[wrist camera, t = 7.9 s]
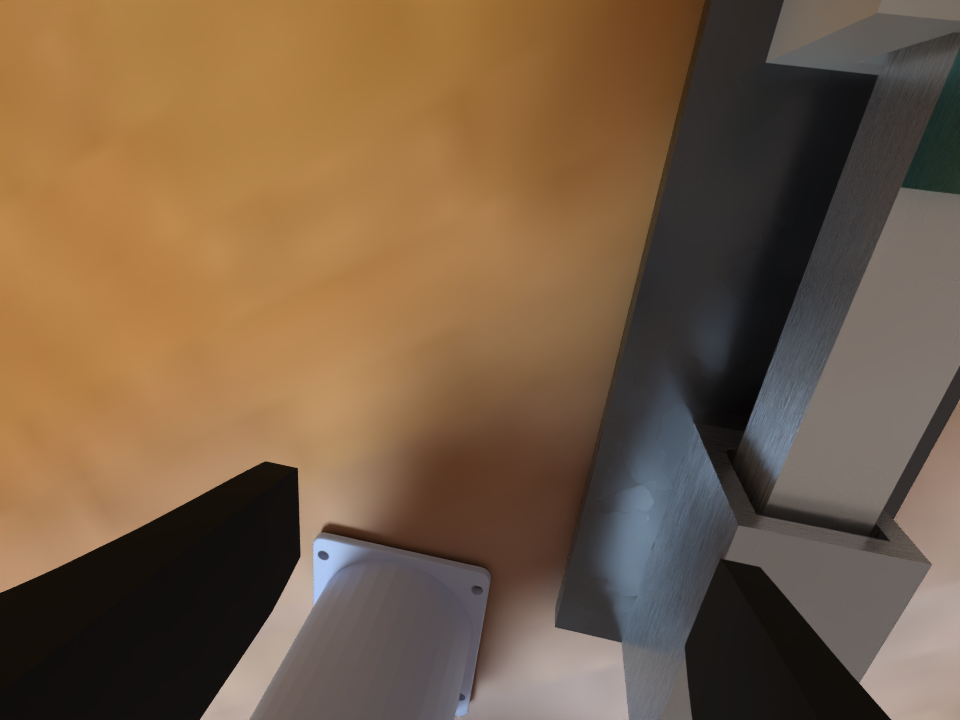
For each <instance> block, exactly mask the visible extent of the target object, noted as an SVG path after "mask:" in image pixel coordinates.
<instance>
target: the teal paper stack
mask: <svg viewBox="0 0 960 720" xmlns="http://www.w3.org/2000/svg"><path fill="white" fill-rule="evenodd" d="M959 366H960V33H957V32H953V33H950V34H947V35H943V36H940V37H937V38H934V39H930V40H927V41H924V42H920V43H917V44H914V45H911V46H907V47H904V48H901V49H898V50H894V51H891V52H888V53H887V54H886V57H885V60H884V62H883V65H882V68H881V70H880V73H879V76H878V78H877V81H876V84H875V86H874V89H873V92H872V94H871V97H870V100H869V102H868V105H867V108H866V110H865V113H864V116H863V118H862V121H861V124H860V126H859V129H858V132H857V134H856V137H855V140H854V142H853V145H852V147H851V150H850V153H849V155H848V158H847V161H846V163H845V166H844V169H843V171H842V174H841V177H840V179H839V182H838V185H837V187H836V190H835V193H834V195H833V198H832V201H831V203H830V206H829V209H828V211H827V214H826V217H825V219H824V222H823V225H822V227H821V230H820V233H819V235H818V238H817V241H816V243H815V246H814V249H813V251H812V254H811V257H810V259H809V262H808V265H807V267H806V270H805V273H804V275H803V278H802V281H801V283H800V286H799V289H798V291H797V294H796V297H795V299H794V302H793V305H792V307H791V310H790V312H789V315H788V318H787V320H786V323H785V326H784V328H783V331H782V334H781V336H780V339H779V342H778V344H777V347H776V350H775V352H774V355H773V358H772V360H771V363H770V366H769V368H768V371H767V374H766V376H765V379H764V382H763V384H762V387H761V390H760V392H759V395H758V398H757V400H756V403H755V406H754V408H753V411H752V414H751V416H750V419H749V422H748V424H747V427H746V430H745V432H744V435H743V438H742V440H741V443H740V446H739V448H738V451H737V454H736V456H735V459H734V462H733V464H732V467H733V469H734V471H735V473H736V475H737V477H738V479H739V481H740V483H741V485H742V487H743V489H744V491H745V493H746V495H747V497H748V499H749V501H750V503H751V505H752V507H753V509H754V511H755V513H756V515H761V516H766V517H770V518H775V519H780V520H785V521H790V522H795V523H800V524H805V525H810V526H815V527H820V528H825V529H830V530H835V531H840V532H845V533H850V534H855V535H860V536H865V537H868V536H869V534H870V532H871V531H872V529H873V527H874V525H875V523H876V521H877V519H878V517H879V516H880V514H881V512H882V510H883V508H884V506H885V504H886V503H887V501H888V499H889V497H890V495H891V493H892V491H893V489H894V488H895V486H896V484H897V482H898V480H899V478H900V476H901V475H902V473H903V471H904V469H905V467H906V465H907V463H908V461H909V460H910V458H911V456H912V454H913V452H914V450H915V448H916V446H917V445H918V443H919V441H920V439H921V437H922V435H923V433H924V432H925V430H926V428H927V426H928V424H929V422H930V420H931V418H932V417H933V415H934V413H935V411H936V409H937V407H938V405H939V404H940V402H941V400H942V398H943V396H944V394H945V392H946V390H947V389H948V387H949V385H950V383H951V381H952V379H953V377H954V376H955V374H956V372H957V370H958V368H959Z"/></svg>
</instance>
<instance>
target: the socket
mask: <svg viewBox="0 0 960 720" xmlns="http://www.w3.org/2000/svg"><path fill="white" fill-rule="evenodd" d="M953 32H957V33H960V0H784V2H783V6H782V9H781V12H780V16H779V19H778V22H777V26H776V29H775V33H774V36H773V39H772V43H771V46H770V49H769V53H768V56H767V59H766V63H773V64H782V65H791V66H800V67H809V68H818V69H827V70H837V71H846V72H855V73H864V74H873V75H879V73H880V70H881V68H882V65H883V62H884V60H885V57H886V54H887V53H888V52H891V51H894V50H898V49H901V48H904V47H907V46H911V45H914V44H917V43H920V42H924V41H927V40H930V39H934V38H937V37H940V36H943V35H947V34H950V33H953Z"/></svg>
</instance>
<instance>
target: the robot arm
mask: <svg viewBox="0 0 960 720" xmlns="http://www.w3.org/2000/svg"><path fill="white" fill-rule="evenodd" d="M323 551H325V552H326V553H324V552H323ZM299 558H300V525H299V493H298V468H294V467H290V466H285V465H280V464H275V463H271V462H266V461H265V462H263V463H261V464H259V465H257V466H255V467H253V468H251V469H249V470H247V471H245V472H243V473H241V474H239V475H238V476H236V477H234V478H232V479H230V480H228V481H226V482H225V483H223V484H221V485H219V486H217V487H215V488H213V489H212V490H210V491H208V492H206V493H204V494H202V495H200V496H199V497H197V498H195V499H193V500H191V501H189V502H187V503H186V504H184V505H182V506H180V507H178V508H176V509H174V510H172V511H170V512H169V513H167V514H165V515H163V516H161V517H159V518H157V519H155V520H153V521H151V522H150V523H148V524H146V525H144V526H142V527H140V528H138V529H136V530H134V531H132V532H130V533H128V534H126V535H124V536H122V537H120V538H118V539H116V540H114V541H112V542H110V543H107V544H105V545H103V546H101V547H99V548H97V549H95V550H93V551H91V552H89V553H87V554H85V555H83V556H81V557H79V558H77V559H75V560H73V561H71V562H68V563H66V564H64V565H62V566H60V567H58V568H56V569H54V570H52V571H49V572H47V573H45V574H43V575H41V576H38V577H36V578H34V579H32V580H29V581H27V582H25V583H22V584H20V585H18V586H16V587H13V588H11V589H9V590H6V591H4V592H2V593H0V720H200V718H201V717H202V715H203V714H204V713H205V711H206V710H207V708H208V707H209V705H210V704H211V702H212V701H213V699H214V698H215V696H216V695H217V693H218V692H219V690H220V689H221V687H222V686H223V684H224V683H225V681H226V680H227V678H228V677H229V675H230V674H231V672H232V671H233V670H234V668H235V667H236V665H237V664H238V662H239V661H240V659H241V658H242V656H243V655H244V653H245V652H246V650H247V649H248V647H249V646H250V644H251V643H252V641H253V640H254V638H255V637H256V635H257V634H258V632H259V631H260V629H261V628H262V626H263V625H264V623H265V622H266V620H267V618H268V617H269V615H270V614H271V612H272V611H273V609H274V607H275V605H276V603H277V601H278V599H279V598H280V596H281V594H282V592H283V590H284V588H285V586H286V584H287V582H288V580H289V578H290V576H291V574H292V572H293V570H294V568H295V566H296V564H297V562H298V560H299ZM313 581H314V607H313V609H312V611H311V612H310V614H309V616H308V618H307V619H306V621H305V623H304V625H303V626H302V628H301V630H300V632H299V633H298V635H297V637H296V639H295V640H294V642H293V644H292V646H291V648H290V649H289V651H288V653H287V655H286V656H285V658H284V660H283V662H282V663H281V665H280V667H279V669H278V670H277V672H276V674H275V676H274V677H273V679H272V681H271V683H270V684H269V686H268V688H267V690H266V691H265V693H264V695H263V697H262V699H261V700H260V702H259V704H258V706H257V707H256V709H255V711H254V713H253V714H252V716H251V718H250V720H454V719H455V716H464V715H466V714H467V712H468V708H469V703H470V697H471V691H472V685H473V679H474V674H475V668H476V662H477V656H478V651H479V645H480V639H481V633H482V627H483V622H484V616H485V610H486V604H487V599H488V593H489V587H490V581H491V575H490V573H489V571H487V570H486V569H485V568H482V567H478V566H474V565H469V564H465V563H460V562H456V561H451V560H447V559H442V558H438V557H433V556H429V555H424V554H420V553H415V552H411V551H406V550H402V549H397V548H393V547H388V546H384V545H379V544H375V543H370V542H366V541H361V540H357V539H352V538H348V537H344V536H339V535H335V534H330V533H320V534H319V535H318V536H317V537H316V538H315V540H314V543H313ZM475 586H479V587H481V588H477V587H475ZM684 647H685V658H686V669H687V680H688V689H689V698H690V707H691V715H692V720H891V719H890V718H889V717H888V716H887V714H886V713H885V712H884V711H883V710H882V709H881V708H880V707H879V705H878V704H877V703H876V702H875V701H874V700H873V699H872V697H871V696H870V695H869V694H868V693H867V692H866V691H865V689H864V688H863V687H862V686H861V685H860V684H859V682H858V681H857V680H856V679H855V678H854V677H853V676H852V674H851V673H850V672H849V671H848V670H847V669H846V667H845V666H844V665H843V664H842V663H841V662H840V660H839V659H838V658H837V657H836V656H835V654H834V653H833V652H832V651H831V650H830V649H829V647H828V646H827V645H826V644H825V643H824V641H823V640H822V639H821V638H820V637H819V636H818V634H817V633H816V632H815V631H814V630H813V628H812V627H811V626H810V625H809V624H808V622H807V621H806V620H805V619H804V618H803V616H802V615H801V614H800V613H799V612H798V610H797V609H796V608H795V607H794V606H793V605H792V603H791V602H790V601H789V600H788V599H787V597H786V596H785V595H784V594H783V593H782V591H781V590H780V589H779V588H778V587H777V586H776V584H775V583H774V582H773V581H772V580H771V579H770V578H769V576H768V575H767V574H766V573H765V572H764V571H763V570H762V569H761V568H760V567H758V566H753V565H749V564H744V563H739V562H735V561H730V560H725V559H721V558H720V560H719V563H718V565H717V568H716V570H715V573H714V575H713V577H712V580H711V582H710V585H709V587H708V590H707V592H706V594H705V597H704V599H703V602H702V604H701V607H700V609H699V612H698V614H697V616H696V619H695V621H694V624H693V626H692V629H691V631H690V633H689V636H688V638H687V641H686V643H685V646H684Z"/></svg>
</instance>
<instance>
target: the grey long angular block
mask: <svg viewBox="0 0 960 720" xmlns="http://www.w3.org/2000/svg"><path fill="white" fill-rule="evenodd" d="M783 2H784V0H705V3H704V7H703V11H702V15H701V20H700V24H699V28H698V32H697V36H696V40H695V44H694V48H693V52H692V56H691V60H690V64H689V68H688V72H687V76H686V80H685V84H684V89H683V93H682V97H681V101H680V105H679V109H678V113H677V117H676V121H675V125H674V129H673V133H672V137H671V141H670V145H669V149H668V153H667V158H666V162H665V166H664V170H663V174H662V178H661V182H660V186H659V190H658V194H657V198H656V202H655V206H654V210H653V214H652V218H651V222H650V227H649V231H648V235H647V239H646V243H645V247H644V251H643V255H642V259H641V263H640V267H639V271H638V275H637V279H636V283H635V287H634V291H633V296H632V300H631V304H630V308H629V312H628V316H627V320H626V324H625V328H624V332H623V336H622V340H621V344H620V348H619V352H618V356H617V360H616V365H615V369H614V373H613V377H612V381H611V385H610V389H609V393H608V397H607V401H606V405H605V409H604V413H603V417H602V421H601V425H600V429H599V434H598V438H597V442H596V446H595V450H594V454H593V458H592V462H591V466H590V470H589V474H588V478H587V482H586V486H585V490H584V494H583V498H582V503H581V507H580V511H579V515H578V519H577V523H576V527H575V531H574V535H573V539H572V543H571V547H570V551H569V555H568V559H567V563H566V568H565V572H564V576H563V580H562V584H561V588H560V592H559V596H558V600H557V604H556V610H555V627H557V628H561V629H566V630H570V631H574V632H579V633H583V634H587V635H592V636H596V637H600V638H605V639H609V640H613V641H617V642H622V651H623V661H624V672H625V682H626V693H627V703H628V714H629V720H692V715H691V707H690V698H689V689H688V680H687V669H686V658H685V647H684V646H685V643H686V641H687V638H688V636H689V633H690V631H691V629H692V626H693V624H694V621H695V619H696V616H697V614H698V612H699V609H700V607H701V604H702V602H703V599H704V597H705V594H706V592H707V590H708V587H709V585H710V582H711V580H712V577H713V575H714V573H715V570H716V568H717V565H718V563H719V560H720V558H721V559H725V560H730V561H735V562H739V563H744V564H749V565H753V566H758V567H760V568H761V569H762V570H763V571H764V572H765V573H766V574H767V575H768V576H769V578H770V579H771V580H772V581H773V582H774V583H775V584H776V586H777V587H778V588H779V589H780V590H781V591H782V593H783V594H784V595H785V596H786V597H787V599H788V600H789V601H790V602H791V603H792V605H793V606H794V607H795V608H796V609H797V610H798V612H799V613H800V614H801V615H802V616H803V618H804V619H805V620H806V621H807V622H808V624H809V625H810V626H811V627H812V628H813V630H814V631H815V632H816V633H817V634H818V636H819V637H820V638H821V639H822V640H823V641H824V643H825V644H826V645H827V646H828V647H829V649H830V650H831V651H832V652H833V653H834V654H835V656H836V657H837V658H838V659H839V660H840V662H841V663H842V664H843V665H844V666H845V667H846V669H847V670H848V671H849V672H850V673H851V674H852V676H853V677H854V678H855V679H856V680H857V681H858V682H859V683H860V681H861V679H862V678H863V676H864V675H865V673H866V671H867V670H868V668H869V666H870V665H871V663H872V661H873V660H874V658H875V657H876V655H877V653H878V652H879V650H880V648H881V647H882V645H883V644H884V642H885V640H886V639H887V637H888V635H889V634H890V632H891V631H892V629H893V627H894V626H895V624H896V622H897V621H898V619H899V618H900V616H901V614H902V613H903V611H904V609H905V608H906V606H907V605H908V603H909V601H910V600H911V598H912V596H913V595H914V593H915V592H916V590H917V588H918V587H919V585H920V583H921V582H922V580H923V579H924V577H925V575H926V574H927V572H928V570H929V569H930V567H931V565H932V564H931V563H930V562H929V561H928V559H927V558H926V557H925V556H924V555H923V554H922V552H921V551H920V550H919V549H918V548H917V547H916V545H915V544H914V543H913V542H912V541H911V540H910V538H909V537H908V536H907V535H906V534H905V533H904V531H903V530H902V529H901V528H900V527H899V526H898V524H897V523H896V522H895V521H894V520H893V519H894V517H895V516H896V514H897V512H898V510H899V508H900V507H901V505H902V503H903V501H904V499H905V497H906V496H907V494H908V492H909V490H910V488H911V487H912V485H913V483H914V481H915V479H916V478H917V476H918V474H919V472H920V470H921V468H922V467H923V465H924V463H925V461H926V459H927V458H928V456H929V454H930V452H931V450H932V448H933V447H934V445H935V443H936V441H937V439H938V438H939V436H940V434H941V432H942V430H943V428H944V427H945V425H946V423H947V421H948V419H949V418H950V416H951V414H952V412H953V410H954V409H955V407H956V405H957V403H958V401H959V399H960V366H959V368H958V370H957V372H956V374H955V376H954V377H953V379H952V381H951V383H950V385H949V387H948V389H947V390H946V392H945V394H944V396H943V398H942V400H941V402H940V404H939V405H938V407H937V409H936V411H935V413H934V415H933V417H932V418H931V420H930V422H929V424H928V426H927V428H926V430H925V432H924V433H923V435H922V437H921V439H920V441H919V443H918V445H917V446H916V448H915V450H914V452H913V454H912V456H911V458H910V460H909V461H908V463H907V465H906V467H905V469H904V471H903V473H902V475H901V476H900V478H899V480H898V482H897V484H896V486H895V488H894V489H893V491H892V493H891V495H890V497H889V499H888V501H887V503H886V504H885V506H884V508H883V510H882V512H881V514H880V516H879V517H878V519H877V521H876V523H875V525H874V527H873V529H872V531H871V532H870V534H869V536H868V537H865V536H860V535H855V534H850V533H845V532H840V531H835V530H830V529H825V528H820V527H815V526H810V525H805V524H800V523H795V522H790V521H785V520H780V519H775V518H770V517H766V516H761V515H756V513H755V511H754V509H753V507H752V505H751V503H750V501H749V499H748V497H747V495H746V493H745V491H744V489H743V487H742V485H741V483H740V481H739V479H738V477H737V475H736V473H735V471H734V469H733V467H732V464H733V462H734V459H735V456H736V454H737V451H738V448H739V446H740V443H741V440H742V438H743V435H744V432H745V430H746V427H747V424H748V422H749V419H750V416H751V414H752V411H753V408H754V406H755V403H756V400H757V398H758V395H759V392H760V390H761V387H762V384H763V382H764V379H765V376H766V374H767V371H768V368H769V366H770V363H771V360H772V358H773V355H774V352H775V350H776V347H777V344H778V342H779V339H780V336H781V334H782V331H783V328H784V326H785V323H786V320H787V318H788V315H789V312H790V310H791V307H792V305H793V302H794V299H795V297H796V294H797V291H798V289H799V286H800V283H801V281H802V278H803V275H804V273H805V270H806V267H807V265H808V262H809V259H810V257H811V254H812V251H813V249H814V246H815V243H816V241H817V238H818V235H819V233H820V230H821V227H822V225H823V222H824V219H825V217H826V214H827V211H828V209H829V206H830V203H831V201H832V198H833V195H834V193H835V190H836V187H837V185H838V182H839V179H840V177H841V174H842V171H843V169H844V166H845V163H846V161H847V158H848V155H849V153H850V150H851V147H852V145H853V142H854V140H855V137H856V134H857V132H858V129H859V126H860V124H861V121H862V118H863V116H864V113H865V110H866V108H867V105H868V102H869V100H870V97H871V94H872V92H873V89H874V86H875V84H876V81H877V78H878V76H879V75H873V74H864V73H855V72H846V71H837V70H827V69H818V68H809V67H800V66H791V65H782V64H773V63H766V59H767V56H768V53H769V49H770V46H771V43H772V39H773V36H774V33H775V29H776V26H777V22H778V19H779V16H780V12H781V9H782V6H783Z"/></svg>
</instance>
